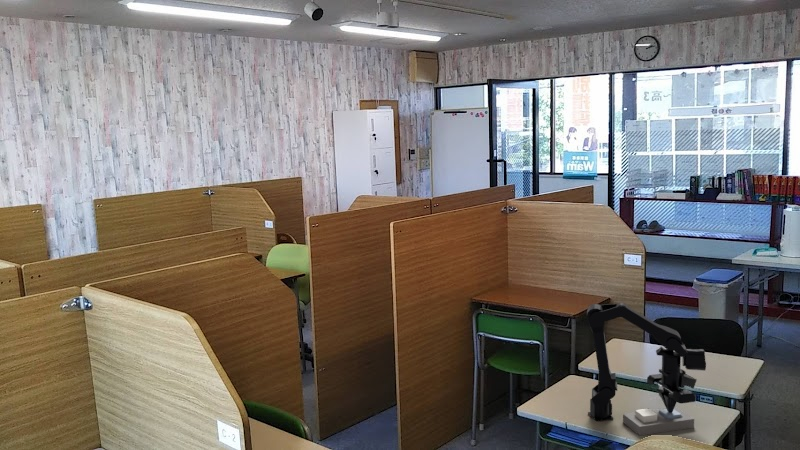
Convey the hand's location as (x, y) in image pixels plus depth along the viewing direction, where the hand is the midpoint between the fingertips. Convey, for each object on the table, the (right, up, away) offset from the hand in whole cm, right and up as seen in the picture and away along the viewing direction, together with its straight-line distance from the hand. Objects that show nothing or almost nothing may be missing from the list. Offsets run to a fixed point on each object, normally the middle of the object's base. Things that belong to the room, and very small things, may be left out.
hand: (670, 412), depth 216 cm
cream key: (-9, -2, -2) cm, 9 cm away
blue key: (0, -3, 0) cm, 3 cm away
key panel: (-4, -4, 0) cm, 6 cm away
